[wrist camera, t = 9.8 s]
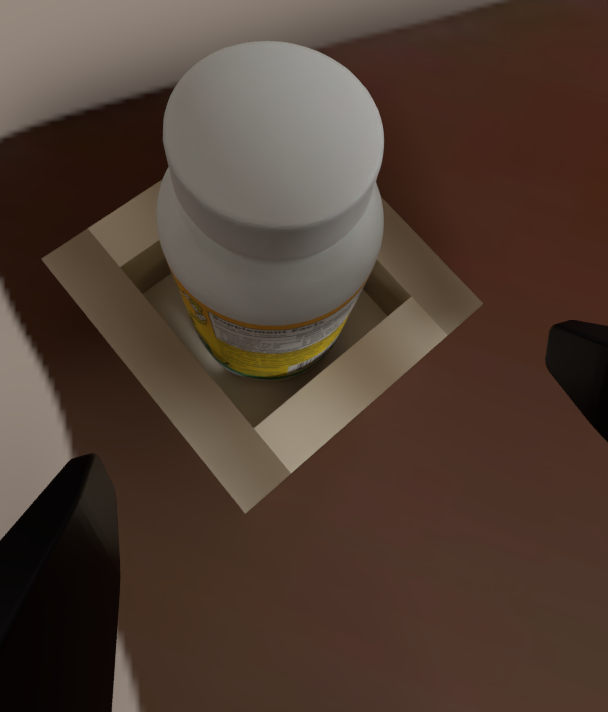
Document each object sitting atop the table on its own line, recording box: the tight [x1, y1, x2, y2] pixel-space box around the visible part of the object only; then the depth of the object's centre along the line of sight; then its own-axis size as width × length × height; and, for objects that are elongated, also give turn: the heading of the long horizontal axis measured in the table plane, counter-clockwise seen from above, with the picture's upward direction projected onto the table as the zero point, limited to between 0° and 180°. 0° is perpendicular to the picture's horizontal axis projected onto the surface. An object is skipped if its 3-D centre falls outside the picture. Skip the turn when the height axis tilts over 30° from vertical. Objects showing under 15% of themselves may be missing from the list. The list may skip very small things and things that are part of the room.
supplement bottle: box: [156, 41, 384, 382], centre depth 13 cm, size 5×5×10 cm
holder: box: [41, 179, 483, 514], centre depth 17 cm, size 10×10×3 cm
